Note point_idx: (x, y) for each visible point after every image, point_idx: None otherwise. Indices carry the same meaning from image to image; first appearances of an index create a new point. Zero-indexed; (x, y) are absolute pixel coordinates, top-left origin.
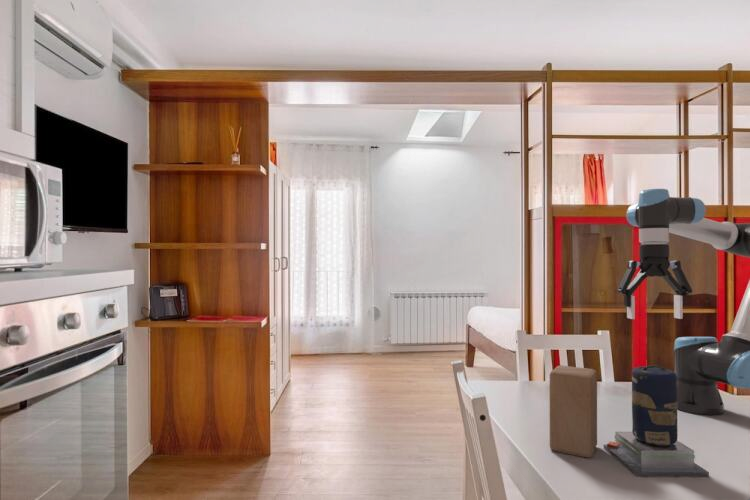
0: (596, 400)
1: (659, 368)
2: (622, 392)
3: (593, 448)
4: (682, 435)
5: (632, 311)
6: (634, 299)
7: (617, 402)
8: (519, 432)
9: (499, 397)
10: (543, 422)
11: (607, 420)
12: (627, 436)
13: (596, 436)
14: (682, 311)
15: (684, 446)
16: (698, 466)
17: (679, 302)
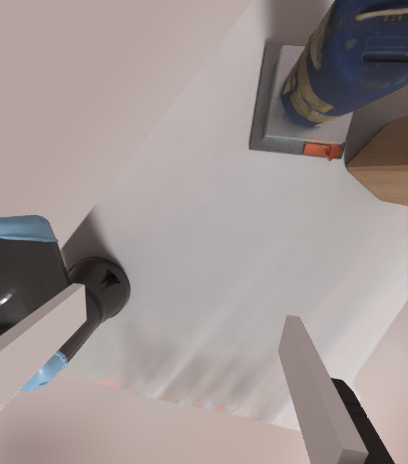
0: (403, 153)
1: (364, 35)
2: (155, 355)
3: (381, 132)
4: (191, 193)
5: (312, 343)
6: (329, 414)
7: (190, 321)
8: None
9: (348, 368)
10: (353, 265)
11: (254, 259)
12: (341, 118)
13: (360, 157)
14: (48, 302)
15: (283, 65)
16: (265, 65)
17: (17, 341)
